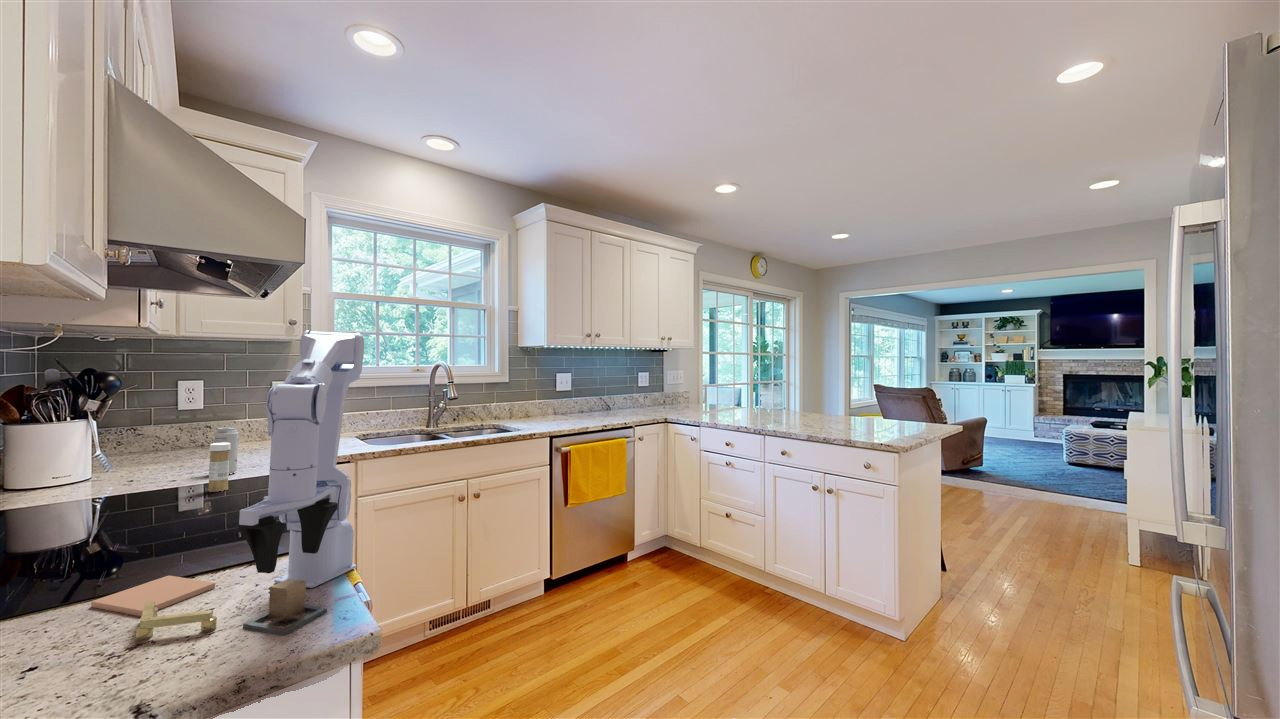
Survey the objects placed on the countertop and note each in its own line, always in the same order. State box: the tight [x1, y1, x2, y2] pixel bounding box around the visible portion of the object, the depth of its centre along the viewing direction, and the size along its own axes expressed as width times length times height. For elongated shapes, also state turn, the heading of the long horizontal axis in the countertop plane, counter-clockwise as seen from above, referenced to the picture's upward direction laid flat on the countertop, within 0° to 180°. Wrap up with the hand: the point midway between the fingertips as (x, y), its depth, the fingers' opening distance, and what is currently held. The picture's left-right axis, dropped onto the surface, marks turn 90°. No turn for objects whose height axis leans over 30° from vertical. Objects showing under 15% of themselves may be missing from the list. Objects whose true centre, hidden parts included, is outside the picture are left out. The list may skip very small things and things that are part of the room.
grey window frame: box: [242, 579, 328, 637], centre depth 72 cm, size 7×7×5 cm
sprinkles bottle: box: [207, 442, 231, 493], centre depth 143 cm, size 5×5×14 cm
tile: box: [90, 575, 216, 617], centre depth 78 cm, size 10×10×1 cm
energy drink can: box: [213, 426, 240, 474], centre depth 164 cm, size 6×6×15 cm
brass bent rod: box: [135, 601, 218, 642], centre depth 68 cm, size 6×12×2 cm, turn 77°
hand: (289, 561), depth 72 cm, fingers open, 7 cm apart
